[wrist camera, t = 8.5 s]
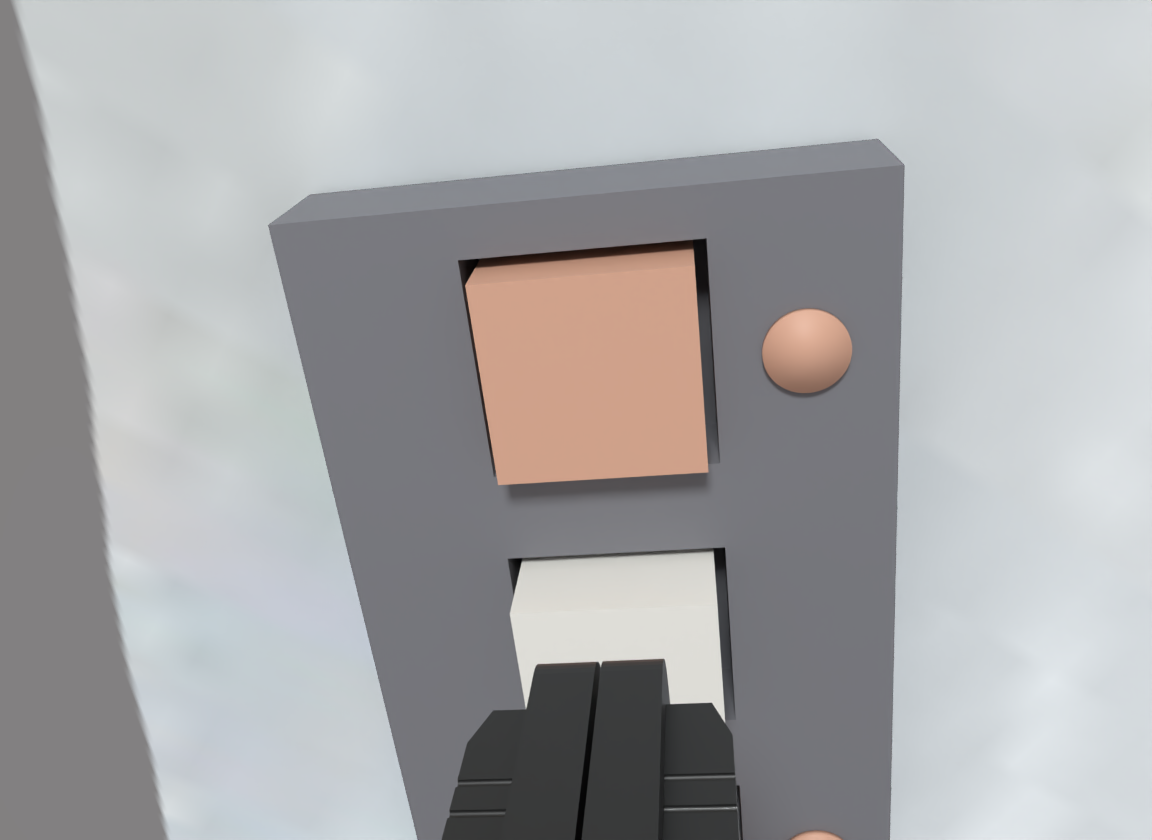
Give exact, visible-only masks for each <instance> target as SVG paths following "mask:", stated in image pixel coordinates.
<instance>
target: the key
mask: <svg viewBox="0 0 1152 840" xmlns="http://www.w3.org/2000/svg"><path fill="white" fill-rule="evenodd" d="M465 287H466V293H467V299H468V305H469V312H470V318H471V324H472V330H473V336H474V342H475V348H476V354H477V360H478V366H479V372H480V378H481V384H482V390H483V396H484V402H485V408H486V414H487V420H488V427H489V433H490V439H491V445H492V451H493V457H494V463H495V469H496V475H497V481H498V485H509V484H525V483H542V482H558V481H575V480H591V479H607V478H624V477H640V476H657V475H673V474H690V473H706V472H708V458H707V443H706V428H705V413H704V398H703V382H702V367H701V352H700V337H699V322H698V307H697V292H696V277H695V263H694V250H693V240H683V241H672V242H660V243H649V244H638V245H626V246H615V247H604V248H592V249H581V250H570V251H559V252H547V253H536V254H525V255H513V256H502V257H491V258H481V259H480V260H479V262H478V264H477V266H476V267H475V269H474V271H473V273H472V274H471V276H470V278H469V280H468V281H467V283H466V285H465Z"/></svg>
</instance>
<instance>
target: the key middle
mask: <svg viewBox="0 0 1152 840" xmlns="http://www.w3.org/2000/svg"><path fill="white" fill-rule="evenodd" d="M510 618H511V624H512V630H513V636H514V642H515V648H516V654H517V660H518V666H519V671H520V677H521V683H522V689H523V695H524V701H525V707H526V708H527V703H528V698H529V693H530V688H531V683H532V678H533V674H534V670H535V667H536V665H537V664H551V663H576V662H599V664H600V666H601V664H602V662H603V661H619V660H644V659H665V663H666V669H667V678H668V687H669V696H670V704H687V703H712V704H713V705H714V707H715V708H716V710H717V711H718V713H719V714H720V716H721V718H722V719H723V721H724V722H725V712H724V697H723V681H722V666H721V651H720V636H719V621H718V606H717V592H716V579H715V565H714V551H713V548H704V549H684V550H665V551H646V552H626V553H607V554H588V555H569V556H549V557H530V558H523V559H522V563H521V568H520V572H519V576H518V580H517V585H516V589H515V593H514V598H513V602H512V606H511V611H510Z"/></svg>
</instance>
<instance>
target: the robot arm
mask: <svg viewBox="0 0 1152 840" xmlns="http://www.w3.org/2000/svg"><path fill="white" fill-rule="evenodd" d="M457 780H458V786H457V787H455V791H454V794H453V798H452V802H451V806H450V809H449V812H450V816H449V818H447V821H446V825H445V828H444V832H443V836H442V840H741V837H740V824H739V811H738V798H737V785H736V772H735V759H734V746H733V735H732V733H731V731H730V730H729V728H728V727H727V725H726V724H725V722H724V721H723V719H722V718H721V716H720V714H719V713H718V711H717V710H716V708H715V707H714V705H713V704H712V703H687V704H670V696H669V687H668V678H667V669H666V663H665V659H644V660H619V661H603V662H602V664H601V666H600V664H599V662H576V663H551V664H537V665H536V667H535V670H534V674H533V678H532V683H531V688H530V693H529V698H528V703H527V708H526V709H521V710H493V711H492V712H491V714H490V715H489V716H488V717H487V719H486V720H485V721H484V722H483V724H482V725H481V726H480V727H479V729H478V730H477V731H476V733H475V734H474V735H473V736H472V738H471V739H470V740H469V741H468V743H467V746H466V749H465V753H464V757H463V761H462V764H461V768H460V772H459V776H458V779H457Z"/></svg>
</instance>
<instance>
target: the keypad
mask: <svg viewBox="0 0 1152 840" xmlns="http://www.w3.org/2000/svg"><path fill="white" fill-rule="evenodd" d="M903 208H904V164H903V163H902V162H901V161H900V160H899V159H898V158H897V157H896V156H895V155H894V154H893V153H892V152H891V151H890V150H889V149H888V148H887V147H886V146H885V145H884V144H883V143H882V142H881V141H880V140H879V139H872V140H862V141H852V142H842V143H831V144H821V145H811V146H801V147H791V148H780V149H770V150H760V151H750V152H740V153H729V154H719V155H709V156H699V157H689V158H678V159H668V160H658V161H648V162H638V163H627V164H617V165H607V166H597V167H587V168H576V169H566V170H556V171H546V172H536V173H525V174H515V175H505V176H495V177H485V178H474V179H464V180H454V181H444V182H434V183H423V184H413V185H403V186H393V187H383V188H373V189H362V190H352V191H342V192H332V193H322V194H311V195H309V196H307V197H306V198H305V199H303V200H302V201H301V202H299V203H298V204H296V205H295V206H294V207H292V208H291V209H290V210H288V211H287V212H286V213H284V214H283V215H281V216H280V217H279V218H277V219H276V220H275V221H273V222H272V223H271V224H269V225H268V226H269V230H270V235H271V239H272V243H273V247H274V251H275V255H276V259H277V263H278V267H279V272H280V276H281V280H282V284H283V288H284V292H285V296H286V300H287V304H288V309H289V313H290V317H291V321H292V325H293V329H294V333H295V337H296V341H297V346H298V350H299V354H300V358H301V362H302V366H303V370H304V374H305V378H306V383H307V387H308V391H309V395H310V399H311V403H312V407H313V411H314V415H315V420H316V424H317V428H318V432H319V436H320V440H321V444H322V448H323V452H324V457H325V461H326V465H327V469H328V473H329V477H330V481H331V485H332V489H333V494H334V498H335V502H336V506H337V510H338V514H339V518H340V522H341V526H342V531H343V535H344V539H345V543H346V547H347V551H348V555H349V559H350V563H351V568H352V572H353V576H354V580H355V584H356V588H357V592H358V596H359V600H360V605H361V609H362V613H363V617H364V621H365V625H366V629H367V633H368V637H369V642H370V646H371V650H372V654H373V658H374V662H375V666H376V670H377V674H378V679H379V683H380V687H381V691H382V695H383V699H384V703H385V707H386V711H387V716H388V720H389V724H390V728H391V732H392V736H393V740H394V744H395V748H396V753H397V757H398V761H399V765H400V769H401V773H402V777H403V781H404V785H405V790H406V794H407V798H408V802H409V806H410V810H411V814H412V818H413V822H414V827H415V831H416V835H417V839H418V840H442V836H443V832H444V828H445V825H446V821H447V818H449V816H450V812H449V809H450V806H451V802H452V798H453V794H454V791H455V787H457V786H458V780H457V779H458V776H459V772H460V768H461V764H462V761H463V757H464V753H465V749H466V746H467V743H468V741H469V740H470V739H471V738H472V736H473V735H474V734H475V733H476V731H477V730H478V729H479V727H480V726H481V725H482V724H483V722H484V721H485V720H486V719H487V717H488V716H489V715H490V714H491V712H492V711H493V710H521V709H526V707H525V701H524V695H523V689H522V683H521V677H520V671H519V666H518V660H517V654H516V648H515V642H514V636H513V630H512V624H511V618H510V611H511V606H512V602H513V598H514V593H515V589H516V585H517V580H518V576H519V572H520V568H521V563H522V559H523V558H530V557H549V556H569V555H588V554H607V553H626V552H646V551H665V550H684V549H704V548H713V551H714V565H715V579H716V592H717V606H718V621H719V636H720V651H721V666H722V681H723V697H724V712H725V724H726V725H727V727H728V728H729V730H730V731H731V733H732V735H733V746H734V759H735V772H736V785H737V798H738V811H739V824H740V837H741V840H890V806H891V760H892V714H893V668H894V622H895V576H896V530H897V484H898V438H899V392H900V346H901V300H902V254H903ZM683 240H693V250H694V263H695V277H696V292H697V307H698V322H699V337H700V352H701V367H702V382H703V398H704V413H705V428H706V443H707V458H708V472H706V473H690V474H673V475H657V476H640V477H624V478H607V479H591V480H575V481H558V482H542V483H525V484H509V485H498V481H497V475H496V469H495V463H494V457H493V451H492V445H491V439H490V433H489V427H488V420H487V414H486V408H485V402H484V396H483V390H482V384H481V378H480V372H479V366H478V360H477V354H476V348H475V342H474V336H473V330H472V324H471V318H470V312H469V305H468V299H467V293H466V287H465V285H466V283H467V281H468V280H469V278H470V276H471V274H472V273H473V271H474V269H475V267H476V266H477V264H478V262H479V260H480V259H481V258H491V257H502V256H513V255H525V254H536V253H547V252H559V251H570V250H581V249H592V248H604V247H615V246H626V245H638V244H649V243H660V242H672V241H683Z"/></svg>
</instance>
